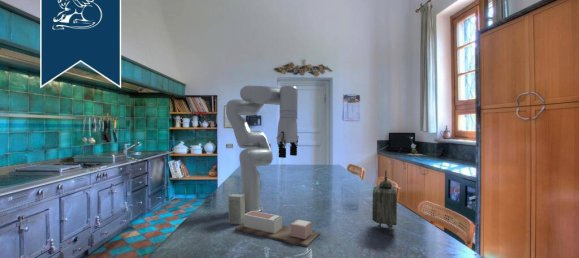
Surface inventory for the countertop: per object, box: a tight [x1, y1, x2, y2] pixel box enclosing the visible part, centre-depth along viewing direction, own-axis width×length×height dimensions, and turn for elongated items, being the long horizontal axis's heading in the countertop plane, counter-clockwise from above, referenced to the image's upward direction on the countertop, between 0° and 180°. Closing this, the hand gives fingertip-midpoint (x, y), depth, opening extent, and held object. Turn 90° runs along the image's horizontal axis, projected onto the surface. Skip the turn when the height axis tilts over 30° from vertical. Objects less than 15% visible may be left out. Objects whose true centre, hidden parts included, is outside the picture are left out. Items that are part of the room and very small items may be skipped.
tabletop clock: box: [371, 169, 398, 236], centre depth 112 cm, size 14×9×25 cm, turn 160°
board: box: [235, 223, 321, 248], centre depth 108 cm, size 32×12×1 cm, turn 62°
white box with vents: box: [243, 211, 283, 233], centre depth 111 cm, size 15×6×5 cm, turn 62°
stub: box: [290, 218, 313, 239], centre depth 103 cm, size 6×6×5 cm
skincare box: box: [227, 193, 245, 226], centre depth 119 cm, size 6×4×12 cm
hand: (288, 156), depth 112 cm, fingers open, 9 cm apart
